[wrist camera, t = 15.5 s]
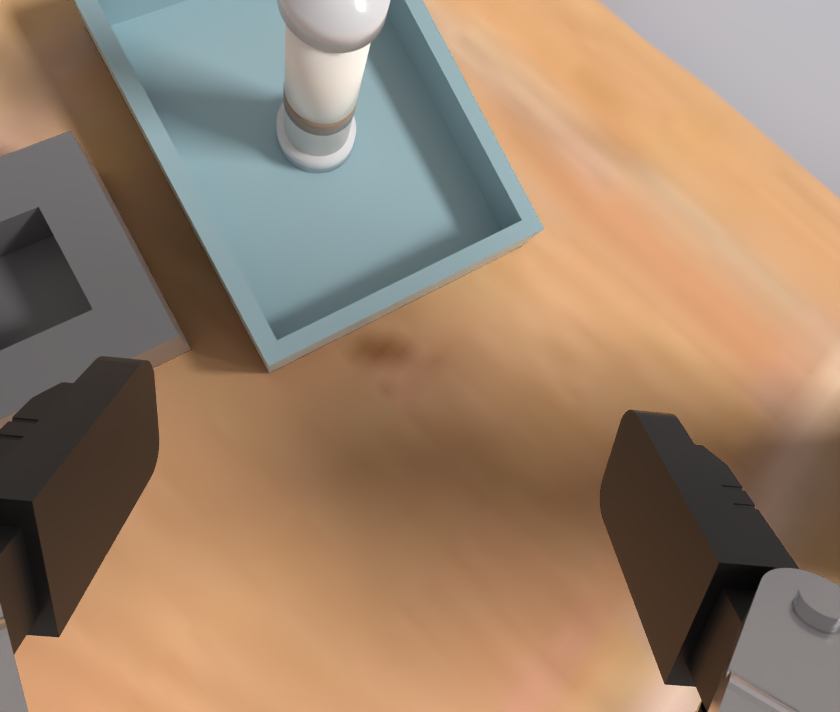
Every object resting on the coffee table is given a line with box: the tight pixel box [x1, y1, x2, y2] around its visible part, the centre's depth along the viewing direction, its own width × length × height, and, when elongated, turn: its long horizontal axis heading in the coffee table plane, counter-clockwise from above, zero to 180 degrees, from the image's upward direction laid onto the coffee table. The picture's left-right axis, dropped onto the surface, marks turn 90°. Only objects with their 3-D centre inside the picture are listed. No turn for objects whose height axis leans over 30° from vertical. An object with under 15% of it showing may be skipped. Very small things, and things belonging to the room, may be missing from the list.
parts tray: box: [74, 0, 544, 373], centre depth 30 cm, size 14×18×3 cm
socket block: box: [0, 131, 192, 429], centre depth 26 cm, size 9×9×4 cm
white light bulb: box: [276, 0, 390, 173], centre depth 26 cm, size 4×4×11 cm
